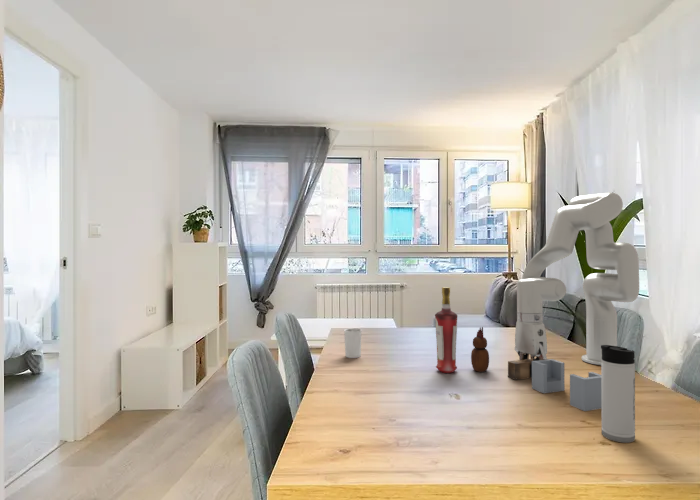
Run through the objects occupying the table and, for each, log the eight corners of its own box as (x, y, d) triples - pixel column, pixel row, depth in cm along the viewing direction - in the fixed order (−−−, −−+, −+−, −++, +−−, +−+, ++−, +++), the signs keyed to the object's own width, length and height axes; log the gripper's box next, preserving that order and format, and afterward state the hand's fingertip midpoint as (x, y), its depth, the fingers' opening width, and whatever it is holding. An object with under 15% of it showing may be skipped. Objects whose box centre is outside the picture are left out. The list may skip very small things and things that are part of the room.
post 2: (584, 411, 112) (584, 379, 112) (569, 404, 116) (569, 374, 116) (607, 407, 114) (607, 376, 114) (592, 401, 119) (591, 371, 119)
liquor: (433, 368, 152) (433, 286, 152) (455, 368, 152) (454, 286, 152) (437, 374, 145) (436, 288, 145) (459, 374, 145) (459, 288, 144)
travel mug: (593, 431, 100) (593, 342, 100) (621, 430, 100) (621, 342, 100) (612, 443, 94) (612, 349, 93) (642, 442, 94) (641, 348, 94)
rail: (508, 376, 141) (508, 361, 141) (543, 372, 146) (543, 357, 146) (515, 379, 138) (515, 363, 138) (551, 375, 142) (551, 360, 142)
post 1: (552, 385, 132) (552, 358, 132) (564, 390, 128) (564, 362, 128) (531, 388, 130) (531, 361, 130) (543, 393, 126) (543, 365, 125)
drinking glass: (362, 354, 173) (362, 328, 173) (361, 358, 166) (360, 331, 166) (345, 353, 174) (345, 328, 173) (343, 358, 167) (343, 331, 167)
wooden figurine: (490, 373, 145) (489, 328, 145) (471, 372, 146) (471, 327, 146) (488, 368, 152) (487, 324, 152) (470, 367, 153) (470, 323, 153)
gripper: (558, 321, 135) (559, 381, 135) (521, 313, 151) (522, 367, 151) (538, 322, 133) (538, 383, 133) (503, 314, 148) (503, 369, 149)
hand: (530, 374), depth 142 cm, fingers closed on rail, 3 cm apart
